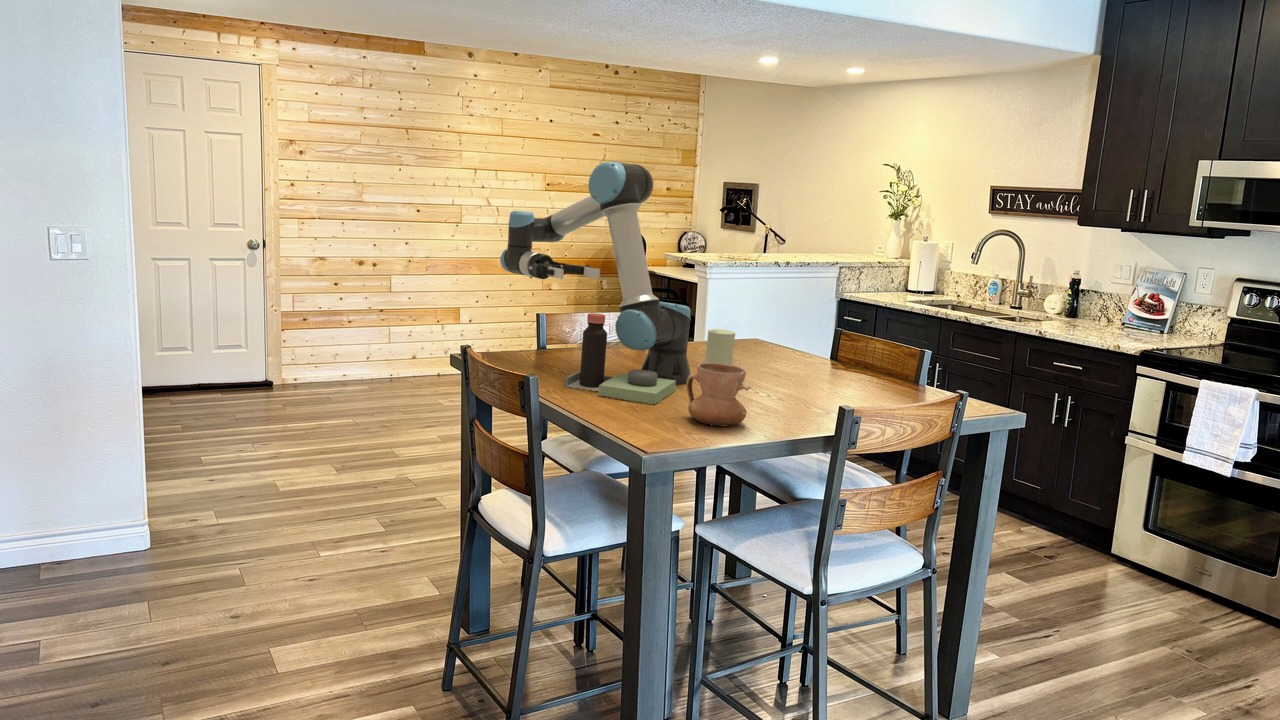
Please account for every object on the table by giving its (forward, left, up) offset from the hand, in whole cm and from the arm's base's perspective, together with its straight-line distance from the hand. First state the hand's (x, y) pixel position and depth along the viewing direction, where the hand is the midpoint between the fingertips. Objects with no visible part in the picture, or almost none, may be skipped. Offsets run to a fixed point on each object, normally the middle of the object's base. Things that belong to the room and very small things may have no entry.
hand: (581, 274), depth 267 cm
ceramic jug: (-49, +28, -30) cm, 64 cm away
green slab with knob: (-17, +10, -30) cm, 36 cm away
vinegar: (-9, +10, -30) cm, 33 cm away
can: (-33, -47, -30) cm, 65 cm away
